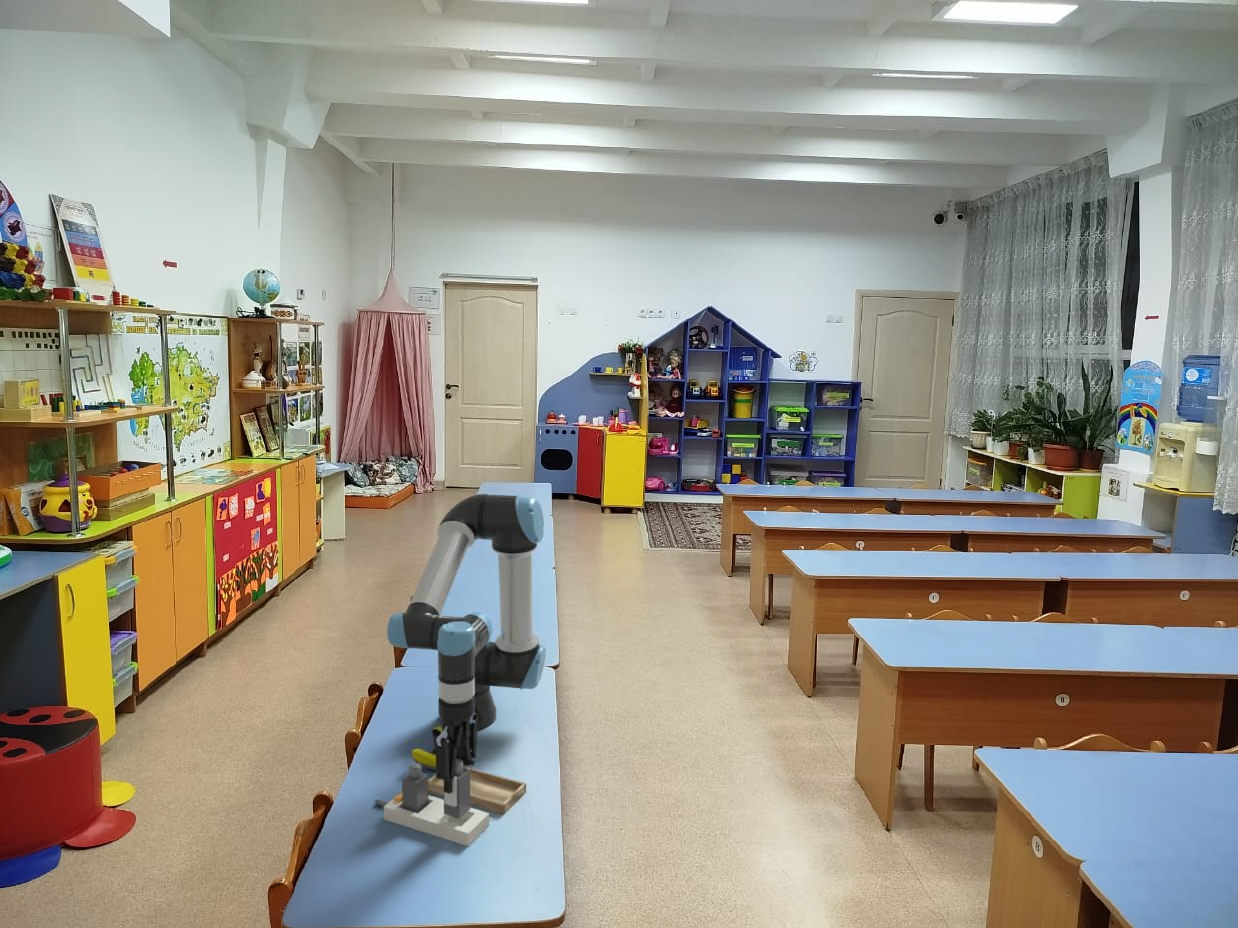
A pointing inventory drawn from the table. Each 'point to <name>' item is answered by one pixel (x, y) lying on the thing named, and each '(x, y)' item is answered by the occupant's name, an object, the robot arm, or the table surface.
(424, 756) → the gaming controller
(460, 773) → the plug
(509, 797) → the tray
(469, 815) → the strip
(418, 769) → the twin plug
